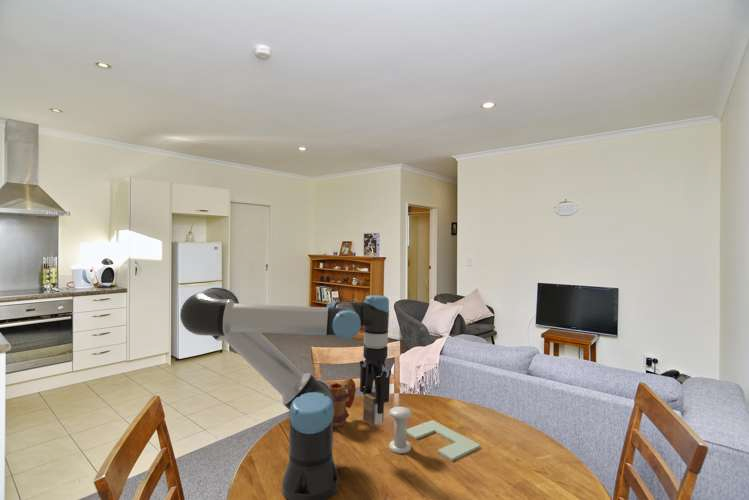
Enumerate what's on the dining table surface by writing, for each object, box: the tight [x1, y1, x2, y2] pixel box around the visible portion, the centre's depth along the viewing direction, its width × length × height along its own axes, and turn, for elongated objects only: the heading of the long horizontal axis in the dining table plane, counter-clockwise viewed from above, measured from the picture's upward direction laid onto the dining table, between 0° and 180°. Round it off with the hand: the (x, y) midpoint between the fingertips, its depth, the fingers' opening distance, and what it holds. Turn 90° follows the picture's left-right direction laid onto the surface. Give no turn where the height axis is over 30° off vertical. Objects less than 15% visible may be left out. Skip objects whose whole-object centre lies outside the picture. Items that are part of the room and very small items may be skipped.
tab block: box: [362, 391, 385, 426], centre depth 118 cm, size 4×4×8 cm
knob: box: [388, 406, 413, 455], centre depth 123 cm, size 7×7×12 cm
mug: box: [328, 377, 357, 427], centre depth 141 cm, size 15×8×15 cm, turn 143°
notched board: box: [407, 419, 481, 462], centre depth 129 cm, size 14×22×1 cm, turn 37°
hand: (373, 419), depth 118 cm, fingers closed on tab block, 4 cm apart
